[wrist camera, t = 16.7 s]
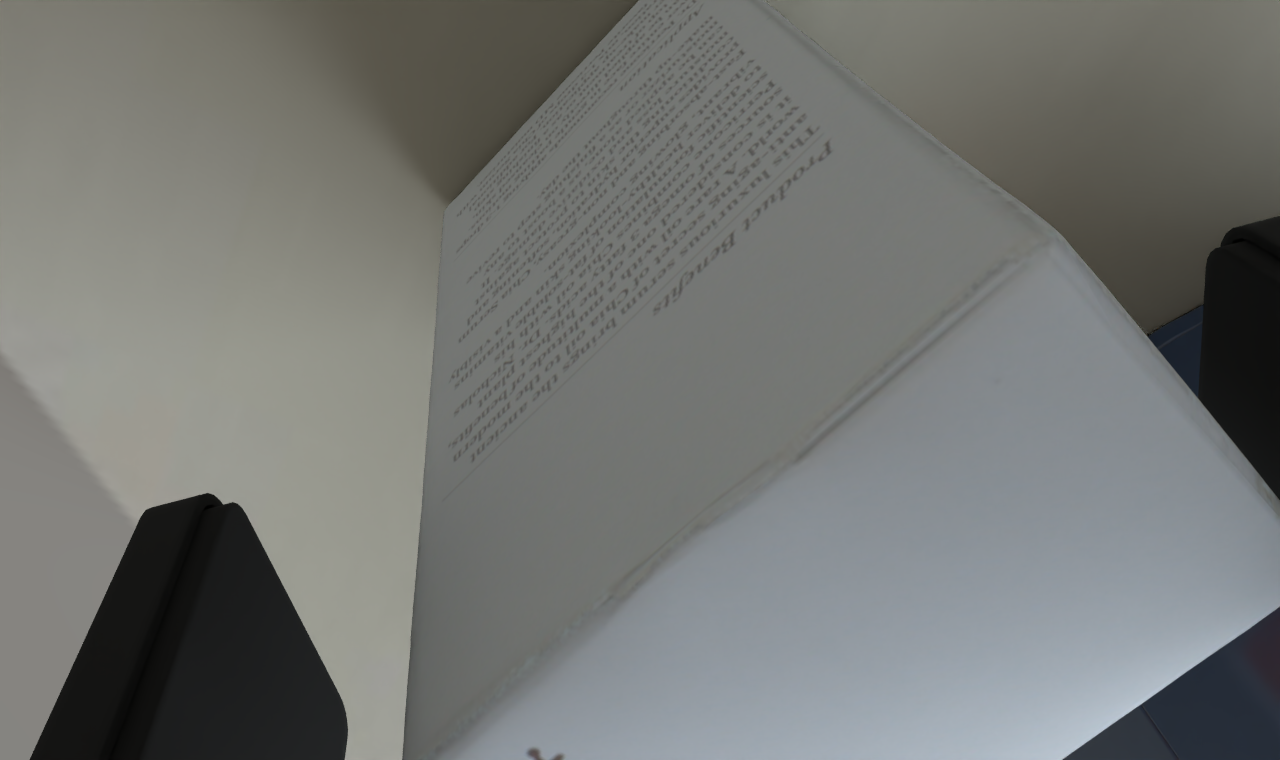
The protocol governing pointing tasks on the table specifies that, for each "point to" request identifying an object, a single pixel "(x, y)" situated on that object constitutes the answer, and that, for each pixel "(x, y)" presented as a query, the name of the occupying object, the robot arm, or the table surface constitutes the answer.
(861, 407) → the cosmetic box
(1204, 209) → the table surface
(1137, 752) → the pot
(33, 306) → the table surface
